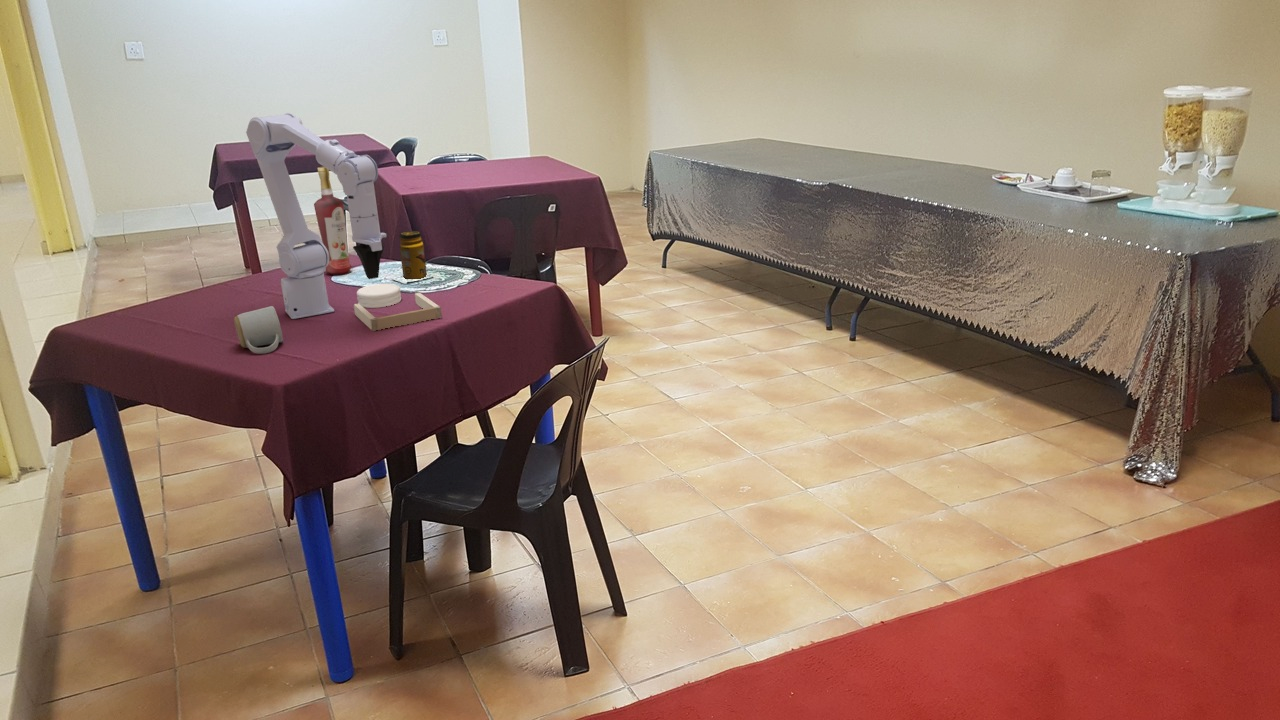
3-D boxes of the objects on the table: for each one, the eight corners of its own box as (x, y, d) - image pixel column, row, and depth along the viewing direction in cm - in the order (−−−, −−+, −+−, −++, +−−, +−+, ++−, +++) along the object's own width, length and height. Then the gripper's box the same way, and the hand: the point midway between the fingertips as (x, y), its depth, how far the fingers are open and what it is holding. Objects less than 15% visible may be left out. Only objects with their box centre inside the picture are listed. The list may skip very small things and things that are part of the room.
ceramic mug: (237, 343, 188) (230, 308, 185) (278, 336, 192) (272, 301, 189) (245, 358, 179) (238, 322, 176) (288, 350, 183) (282, 314, 180)
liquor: (338, 277, 236) (321, 170, 227) (319, 274, 240) (301, 168, 230) (359, 271, 242) (343, 166, 232) (340, 268, 246) (324, 164, 236)
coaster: (351, 308, 210) (348, 294, 208) (369, 296, 219) (367, 282, 218) (391, 309, 208) (389, 294, 207) (408, 297, 217) (406, 283, 216)
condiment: (434, 278, 233) (428, 232, 229) (405, 285, 227) (398, 238, 223) (419, 273, 238) (413, 228, 234) (390, 280, 232) (384, 234, 228)
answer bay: (373, 331, 192) (371, 320, 191) (355, 314, 204) (353, 304, 203) (442, 318, 199) (440, 307, 199) (420, 302, 211) (419, 292, 210)
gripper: (392, 217, 185) (401, 281, 190) (373, 207, 197) (381, 268, 201) (358, 222, 182) (367, 287, 186) (340, 212, 193) (349, 273, 198)
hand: (372, 277), depth 194 cm, fingers closed
